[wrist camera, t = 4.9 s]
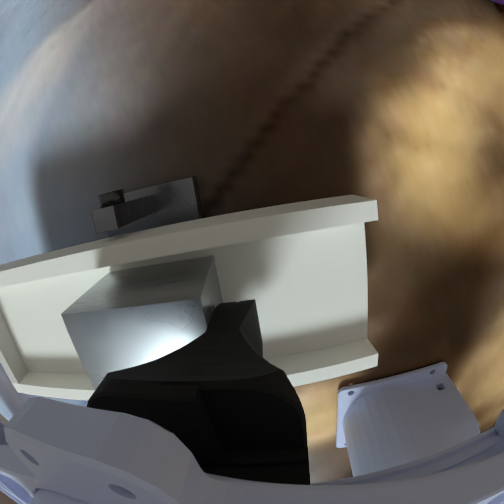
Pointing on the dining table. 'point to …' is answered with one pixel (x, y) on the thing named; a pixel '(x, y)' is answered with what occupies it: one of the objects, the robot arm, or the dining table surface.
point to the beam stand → (148, 207)
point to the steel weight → (142, 314)
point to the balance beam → (231, 285)
